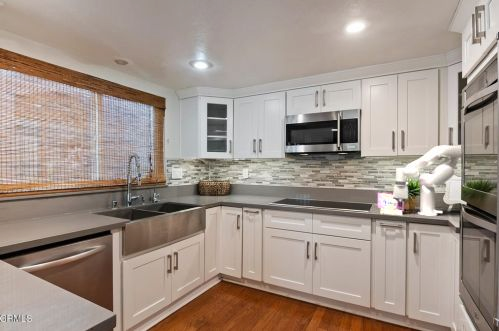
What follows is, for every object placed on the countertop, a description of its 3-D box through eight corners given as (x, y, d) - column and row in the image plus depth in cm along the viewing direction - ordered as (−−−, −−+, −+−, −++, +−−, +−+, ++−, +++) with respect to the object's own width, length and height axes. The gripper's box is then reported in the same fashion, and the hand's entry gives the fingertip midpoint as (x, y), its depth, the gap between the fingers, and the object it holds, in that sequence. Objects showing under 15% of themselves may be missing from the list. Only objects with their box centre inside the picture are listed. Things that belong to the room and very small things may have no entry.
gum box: (376, 207, 243) (376, 192, 243) (383, 206, 245) (383, 192, 244) (396, 211, 219) (396, 195, 219) (404, 211, 221) (404, 195, 221)
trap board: (402, 212, 216) (402, 208, 216) (401, 215, 206) (401, 211, 206) (381, 210, 224) (381, 207, 224) (380, 213, 214) (380, 209, 214)
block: (394, 209, 213) (394, 204, 213) (393, 210, 209) (393, 205, 209) (388, 209, 215) (388, 204, 215) (388, 209, 212) (388, 204, 212)
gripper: (412, 184, 208) (411, 207, 208) (390, 182, 215) (389, 205, 216) (412, 184, 201) (411, 208, 202) (389, 183, 209) (389, 206, 209)
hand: (400, 206), depth 209 cm, fingers closed
